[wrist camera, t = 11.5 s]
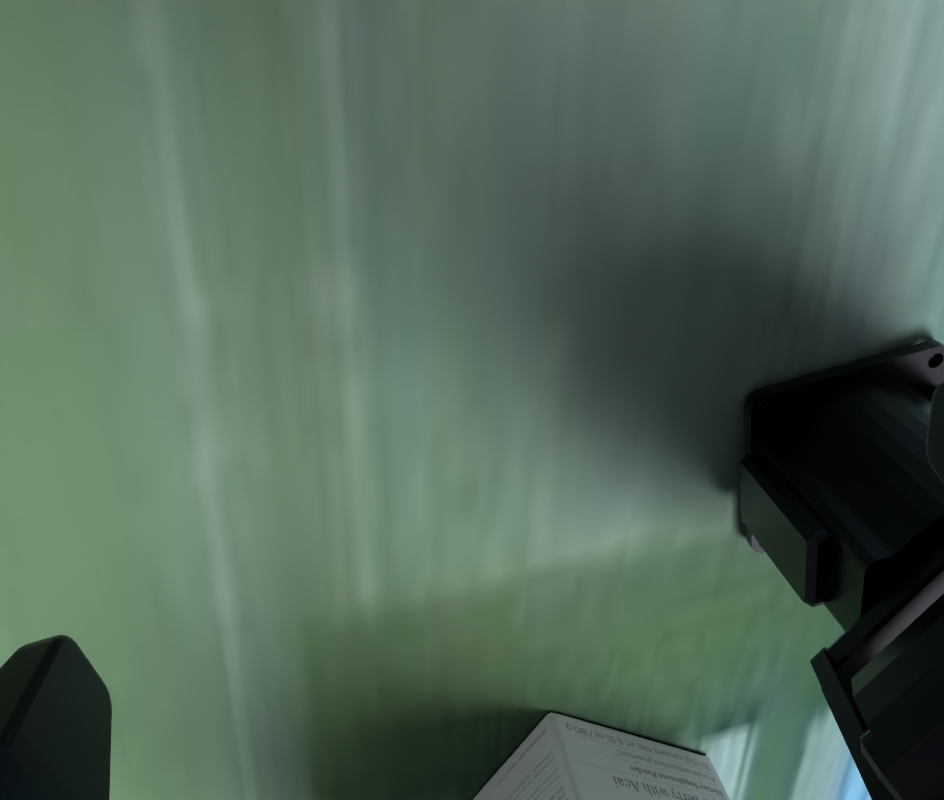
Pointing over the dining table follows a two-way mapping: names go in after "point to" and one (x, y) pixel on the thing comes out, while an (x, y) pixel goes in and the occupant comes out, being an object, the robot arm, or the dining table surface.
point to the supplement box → (600, 767)
